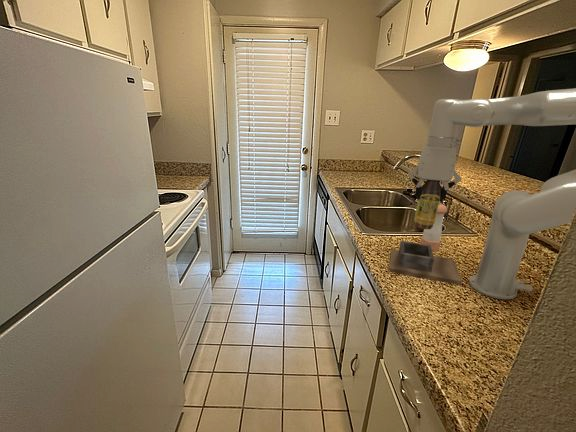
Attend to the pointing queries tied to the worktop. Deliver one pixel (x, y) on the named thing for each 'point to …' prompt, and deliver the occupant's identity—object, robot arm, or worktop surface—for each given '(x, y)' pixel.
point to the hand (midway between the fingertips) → (429, 199)
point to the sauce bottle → (428, 204)
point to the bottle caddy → (423, 263)
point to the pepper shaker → (435, 229)
